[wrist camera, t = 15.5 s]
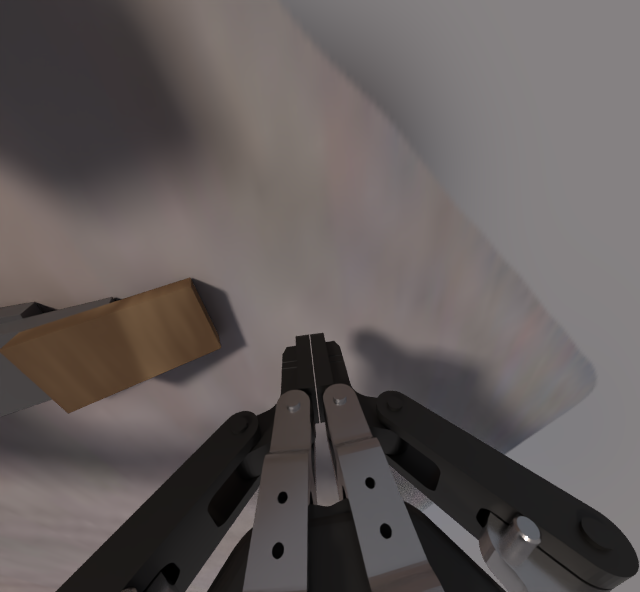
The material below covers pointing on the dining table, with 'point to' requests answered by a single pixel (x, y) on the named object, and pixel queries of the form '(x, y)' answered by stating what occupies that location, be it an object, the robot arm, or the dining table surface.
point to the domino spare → (114, 345)
